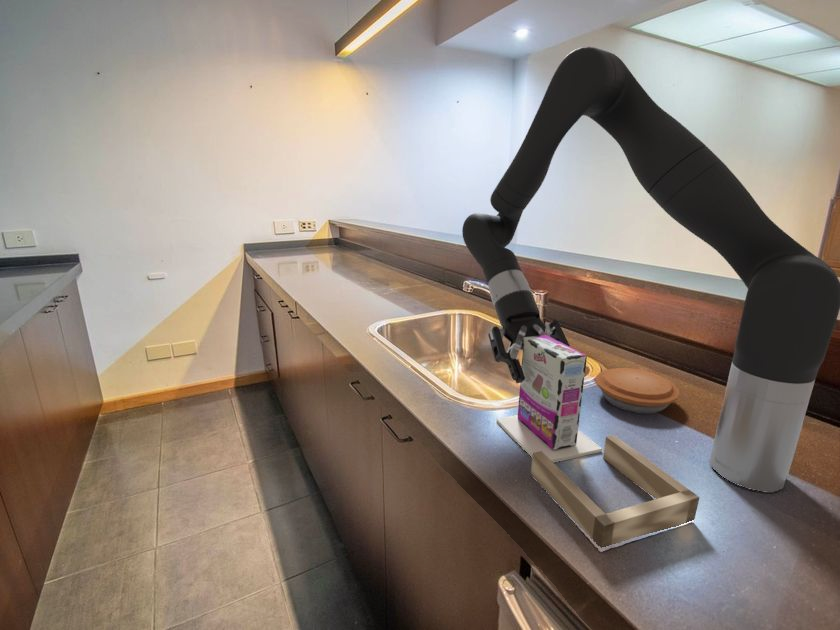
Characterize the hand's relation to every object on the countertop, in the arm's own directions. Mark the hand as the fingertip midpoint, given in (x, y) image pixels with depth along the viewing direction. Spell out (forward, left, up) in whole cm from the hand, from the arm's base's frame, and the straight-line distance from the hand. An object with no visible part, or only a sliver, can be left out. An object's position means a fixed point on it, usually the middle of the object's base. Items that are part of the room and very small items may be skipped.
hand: (542, 378), depth 74 cm
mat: (0, +2, -10) cm, 10 cm away
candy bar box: (0, +2, -10) cm, 10 cm away
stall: (+1, +18, -10) cm, 21 cm away
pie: (-25, -3, -10) cm, 27 cm away
